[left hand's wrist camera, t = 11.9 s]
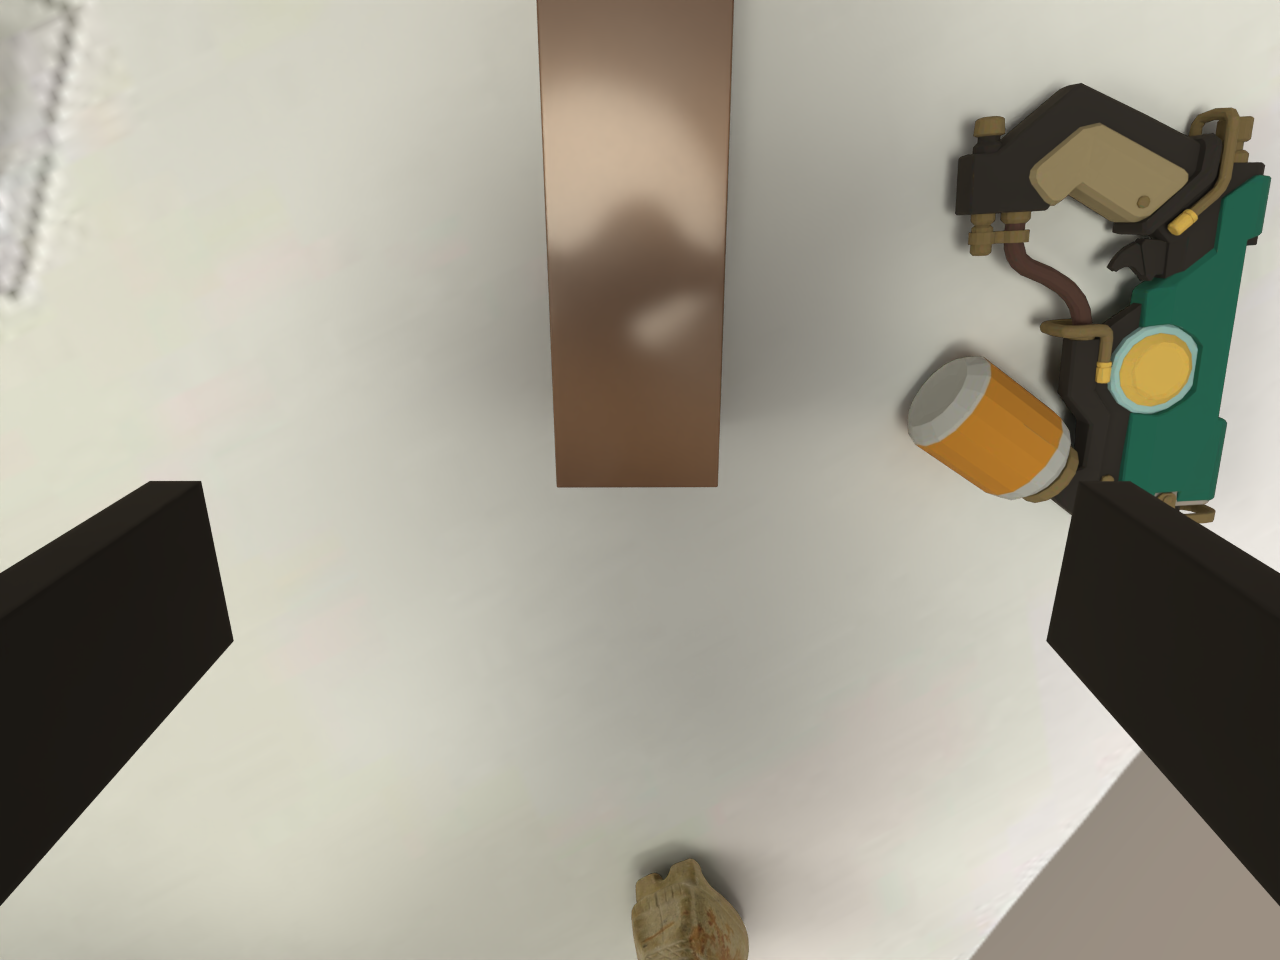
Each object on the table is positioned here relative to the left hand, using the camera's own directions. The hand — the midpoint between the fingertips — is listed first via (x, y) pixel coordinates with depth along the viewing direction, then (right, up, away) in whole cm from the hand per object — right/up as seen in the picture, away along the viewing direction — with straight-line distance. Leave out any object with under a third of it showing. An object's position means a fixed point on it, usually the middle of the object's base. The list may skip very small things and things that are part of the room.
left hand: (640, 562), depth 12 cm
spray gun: (+18, +8, +21) cm, 29 cm away
